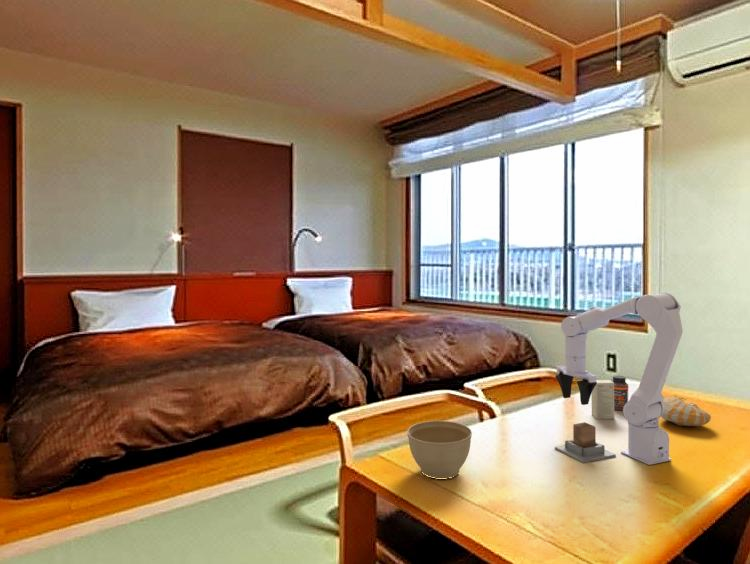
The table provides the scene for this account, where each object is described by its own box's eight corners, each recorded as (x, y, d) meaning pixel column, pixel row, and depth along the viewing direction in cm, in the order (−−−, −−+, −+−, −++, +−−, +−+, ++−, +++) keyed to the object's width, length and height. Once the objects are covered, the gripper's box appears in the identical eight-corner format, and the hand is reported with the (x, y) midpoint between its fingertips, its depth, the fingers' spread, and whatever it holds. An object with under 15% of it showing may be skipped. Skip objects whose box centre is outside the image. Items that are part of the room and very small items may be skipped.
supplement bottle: (610, 410, 181) (610, 378, 180) (608, 405, 186) (608, 374, 186) (629, 411, 179) (629, 379, 178) (626, 406, 185) (626, 375, 184)
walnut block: (595, 451, 143) (595, 426, 142) (583, 454, 141) (583, 428, 141) (584, 446, 146) (584, 422, 146) (573, 449, 145) (573, 424, 145)
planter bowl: (398, 466, 138) (397, 425, 137) (452, 456, 143) (451, 417, 143) (425, 491, 122) (424, 446, 122) (484, 479, 128) (484, 436, 128)
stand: (615, 456, 141) (615, 447, 140) (583, 463, 137) (583, 453, 137) (586, 443, 151) (586, 434, 151) (554, 448, 147) (554, 439, 147)
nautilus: (658, 411, 180) (710, 420, 172) (652, 425, 162) (709, 436, 154) (660, 388, 180) (712, 396, 172) (654, 400, 162) (711, 409, 154)
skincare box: (610, 415, 176) (610, 379, 175) (614, 419, 171) (615, 382, 171) (590, 414, 176) (590, 379, 176) (595, 419, 172) (595, 382, 171)
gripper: (548, 353, 162) (548, 396, 162) (582, 361, 148) (582, 409, 149) (567, 351, 164) (567, 393, 165) (601, 359, 151) (601, 406, 151)
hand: (575, 400), depth 157 cm, fingers open, 7 cm apart
